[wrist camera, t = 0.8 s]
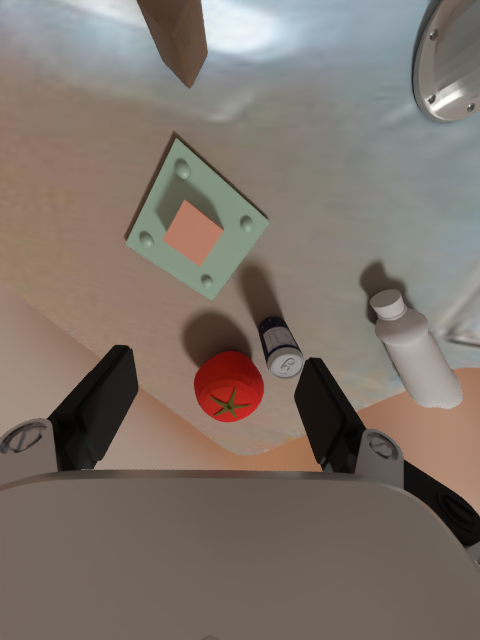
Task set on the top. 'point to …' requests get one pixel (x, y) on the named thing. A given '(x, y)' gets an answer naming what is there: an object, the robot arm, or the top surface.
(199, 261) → the brick
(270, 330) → the beverage can
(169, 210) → the baseplate
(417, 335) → the bottle
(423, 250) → the top surface
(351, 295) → the top surface
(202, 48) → the wooden block
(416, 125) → the top surface
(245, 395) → the tomato
